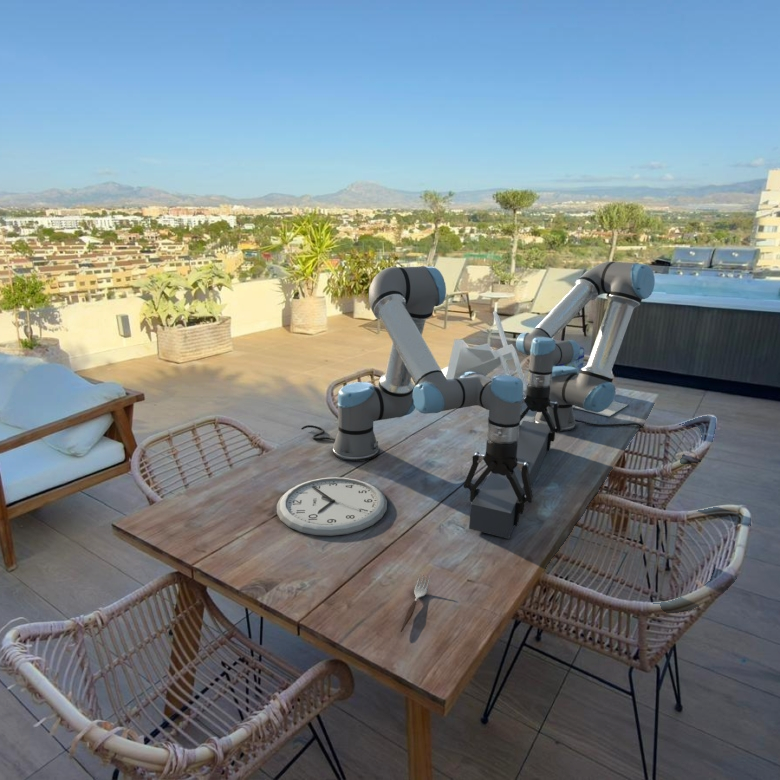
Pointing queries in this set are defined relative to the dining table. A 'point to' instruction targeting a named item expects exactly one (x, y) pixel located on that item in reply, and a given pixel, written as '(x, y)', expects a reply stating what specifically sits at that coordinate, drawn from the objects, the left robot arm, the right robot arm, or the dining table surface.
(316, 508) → the wall clock
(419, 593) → the fork
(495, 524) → the wide beam
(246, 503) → the dining table surface
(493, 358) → the white plastic object
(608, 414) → the invitation card
